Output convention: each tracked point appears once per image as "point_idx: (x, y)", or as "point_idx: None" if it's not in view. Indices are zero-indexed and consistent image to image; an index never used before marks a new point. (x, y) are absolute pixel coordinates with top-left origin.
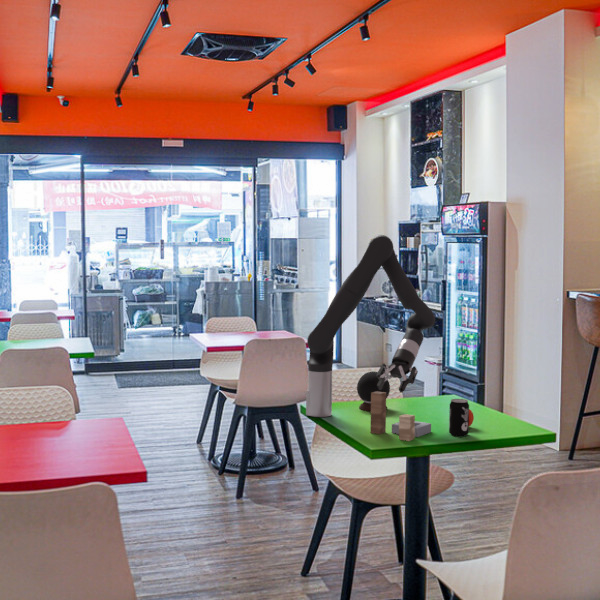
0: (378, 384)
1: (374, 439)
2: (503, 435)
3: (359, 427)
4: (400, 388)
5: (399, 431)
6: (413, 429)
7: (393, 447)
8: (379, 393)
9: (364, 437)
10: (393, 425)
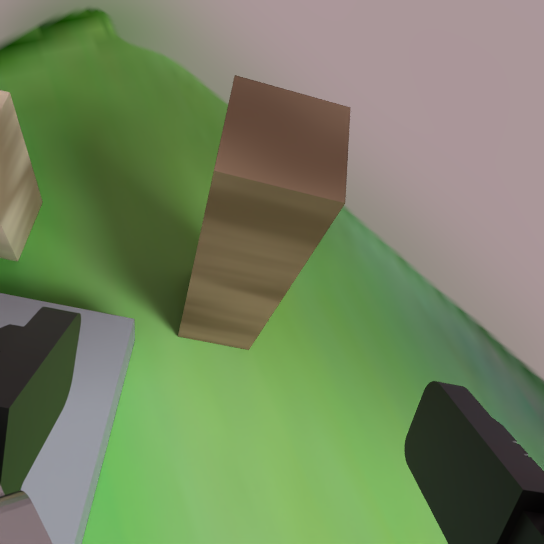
0: (473, 400)
1: (176, 159)
2: None
3: (379, 392)
4: (41, 308)
5: (30, 171)
6: None
7: (32, 52)
8: (258, 96)
9: None
10: (119, 318)
